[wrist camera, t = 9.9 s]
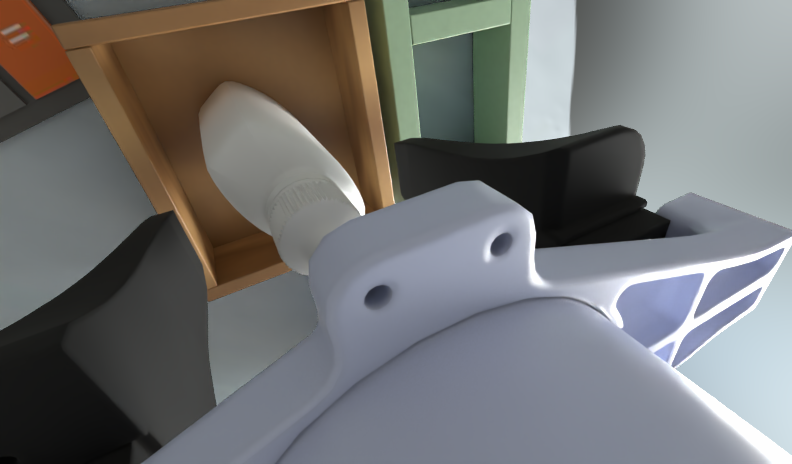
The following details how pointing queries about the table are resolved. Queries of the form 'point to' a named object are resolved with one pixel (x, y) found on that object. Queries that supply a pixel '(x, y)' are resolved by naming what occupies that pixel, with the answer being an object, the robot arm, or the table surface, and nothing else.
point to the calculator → (34, 65)
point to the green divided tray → (492, 64)
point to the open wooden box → (198, 78)
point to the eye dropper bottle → (275, 171)
